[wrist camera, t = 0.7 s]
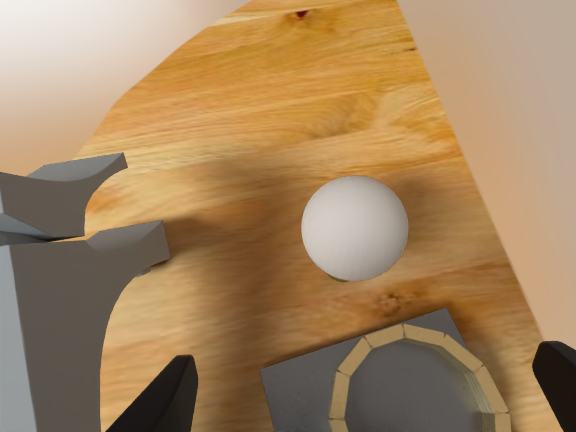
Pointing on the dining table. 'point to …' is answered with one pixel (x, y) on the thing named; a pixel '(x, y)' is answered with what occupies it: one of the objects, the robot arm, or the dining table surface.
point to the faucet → (61, 293)
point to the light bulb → (354, 228)
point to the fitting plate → (388, 384)
